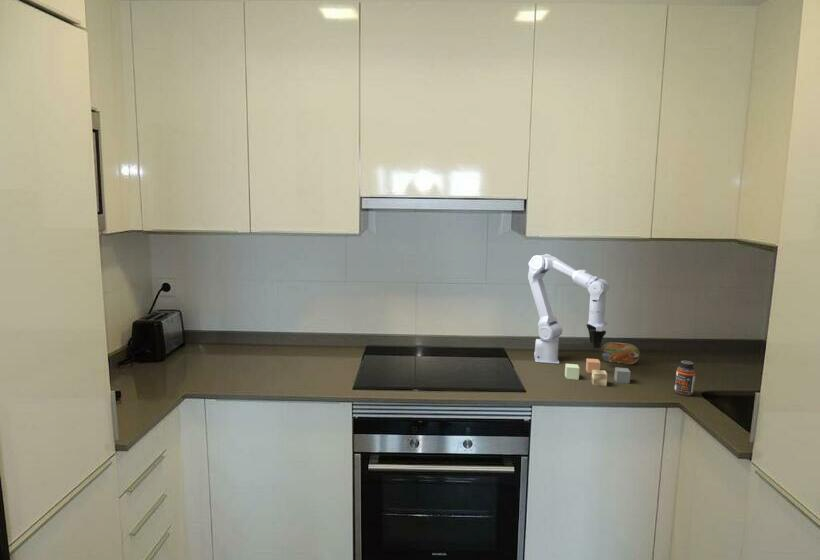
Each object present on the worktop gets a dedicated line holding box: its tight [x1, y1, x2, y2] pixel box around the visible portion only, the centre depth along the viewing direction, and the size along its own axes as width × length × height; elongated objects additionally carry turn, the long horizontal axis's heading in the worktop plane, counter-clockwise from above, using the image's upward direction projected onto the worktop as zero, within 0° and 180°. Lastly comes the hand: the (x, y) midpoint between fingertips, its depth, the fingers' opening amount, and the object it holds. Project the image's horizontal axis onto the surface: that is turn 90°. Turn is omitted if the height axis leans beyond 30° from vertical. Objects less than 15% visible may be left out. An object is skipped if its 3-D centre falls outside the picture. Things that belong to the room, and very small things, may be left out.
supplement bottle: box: [674, 360, 697, 397], centre depth 185 cm, size 6×6×11 cm
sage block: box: [564, 363, 580, 381], centre depth 200 cm, size 4×4×4 cm
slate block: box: [613, 366, 631, 384], centre depth 197 cm, size 4×4×4 cm
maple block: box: [590, 369, 608, 387], centre depth 193 cm, size 4×4×4 cm
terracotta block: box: [585, 358, 601, 374], centre depth 207 cm, size 4×4×4 cm
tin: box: [600, 341, 641, 365], centre depth 219 cm, size 15×3×8 cm, turn 72°
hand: (594, 345), depth 206 cm, fingers open, 7 cm apart
